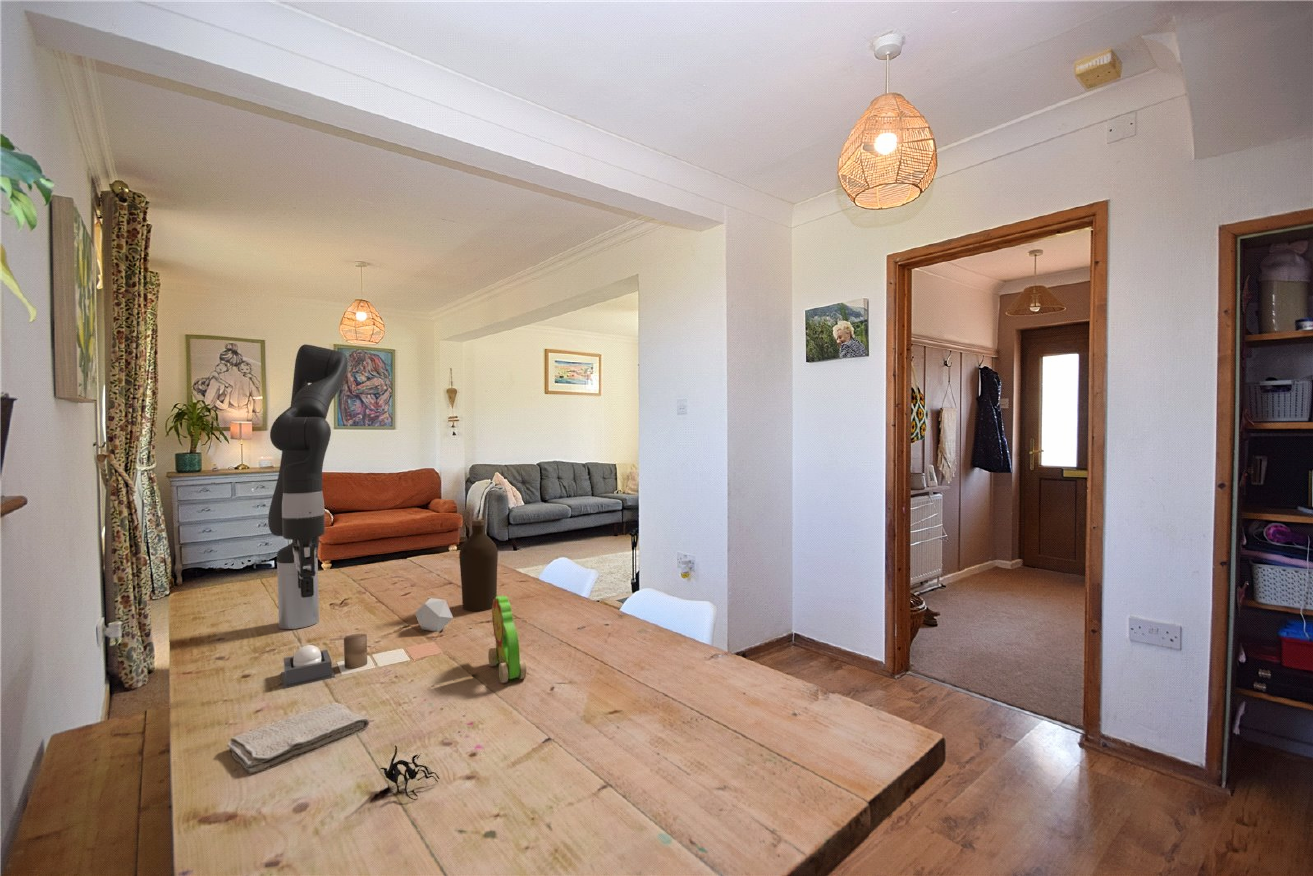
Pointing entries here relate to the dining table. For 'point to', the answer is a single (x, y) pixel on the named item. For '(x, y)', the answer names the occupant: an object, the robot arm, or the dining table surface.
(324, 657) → the button base
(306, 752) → the washcloth
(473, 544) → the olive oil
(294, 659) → the dome
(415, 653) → the game board
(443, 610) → the die
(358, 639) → the brown cylinder
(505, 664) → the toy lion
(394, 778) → the creature
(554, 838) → the dining table surface
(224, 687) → the dining table surface
